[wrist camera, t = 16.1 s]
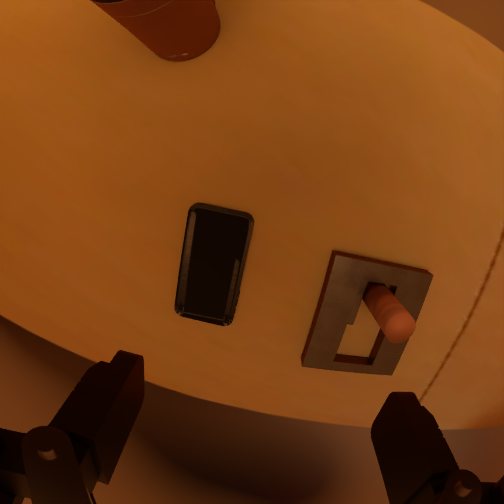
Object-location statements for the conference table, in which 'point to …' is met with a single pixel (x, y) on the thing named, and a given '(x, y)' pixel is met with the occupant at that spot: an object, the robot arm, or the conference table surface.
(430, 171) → the conference table surface
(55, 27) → the conference table surface
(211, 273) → the phone
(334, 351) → the keyhole plate
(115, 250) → the conference table surface
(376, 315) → the peg
